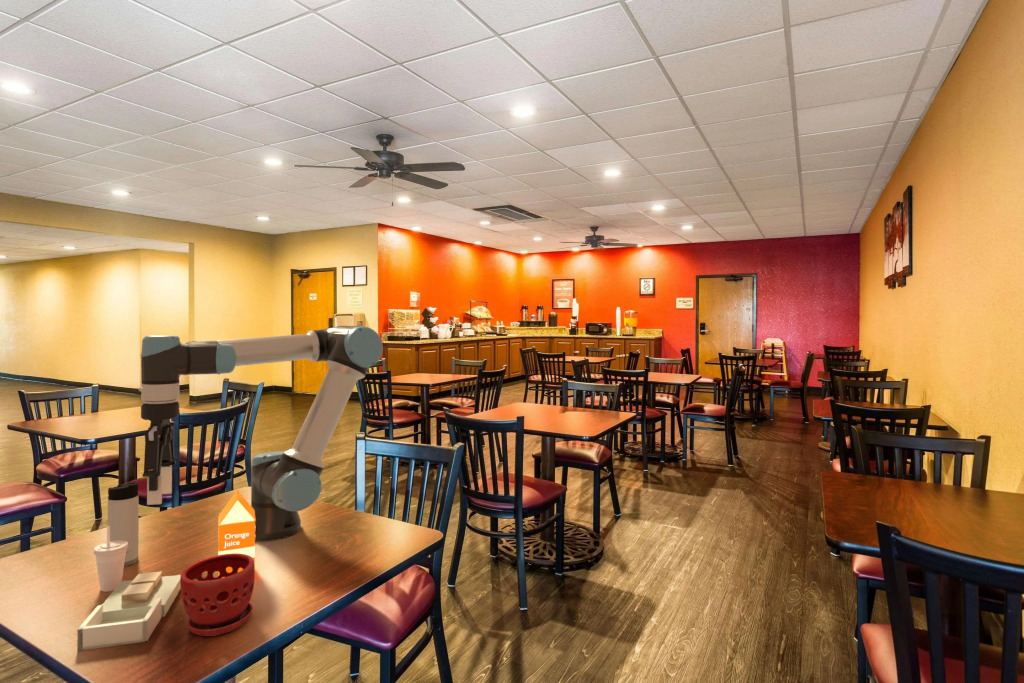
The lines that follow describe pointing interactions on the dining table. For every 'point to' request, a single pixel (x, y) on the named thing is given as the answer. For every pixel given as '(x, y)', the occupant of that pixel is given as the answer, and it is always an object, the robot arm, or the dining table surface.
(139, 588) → the tile front
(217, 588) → the plant pot
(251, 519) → the orange juice
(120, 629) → the tray
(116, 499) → the travel mug
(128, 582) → the board
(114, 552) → the smoothie
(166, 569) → the dining table surface
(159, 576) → the tile rear
